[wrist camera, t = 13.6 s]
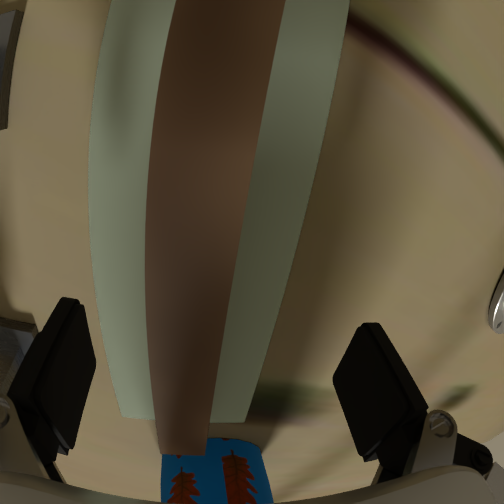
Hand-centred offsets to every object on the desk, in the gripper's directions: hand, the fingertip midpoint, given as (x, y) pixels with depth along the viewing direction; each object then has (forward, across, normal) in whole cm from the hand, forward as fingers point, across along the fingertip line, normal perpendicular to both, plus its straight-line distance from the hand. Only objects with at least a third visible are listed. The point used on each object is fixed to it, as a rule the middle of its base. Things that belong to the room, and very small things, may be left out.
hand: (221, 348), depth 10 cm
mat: (+6, +1, 0) cm, 6 cm away
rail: (+6, +1, 0) cm, 6 cm away
